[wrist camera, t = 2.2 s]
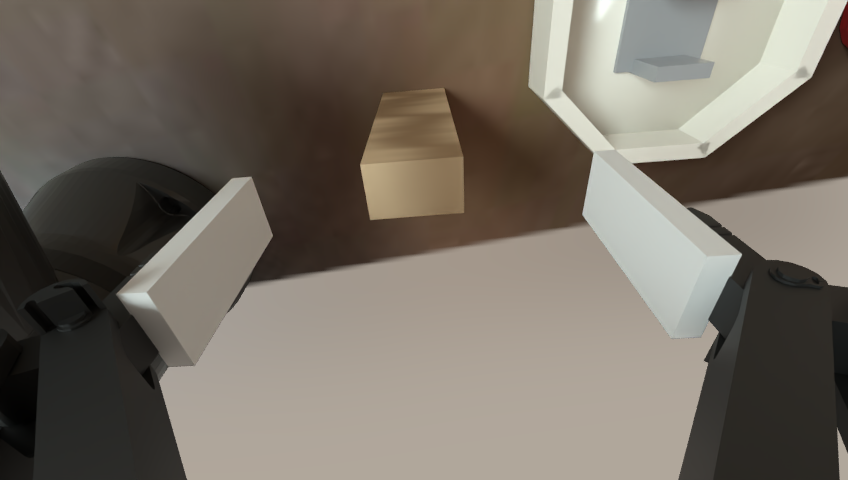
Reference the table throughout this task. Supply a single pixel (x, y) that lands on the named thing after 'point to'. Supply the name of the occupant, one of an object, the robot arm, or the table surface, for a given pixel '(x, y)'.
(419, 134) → the long cardboard-colored beam
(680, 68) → the white octagonal tray
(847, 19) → the plastic cup
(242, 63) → the table surface
